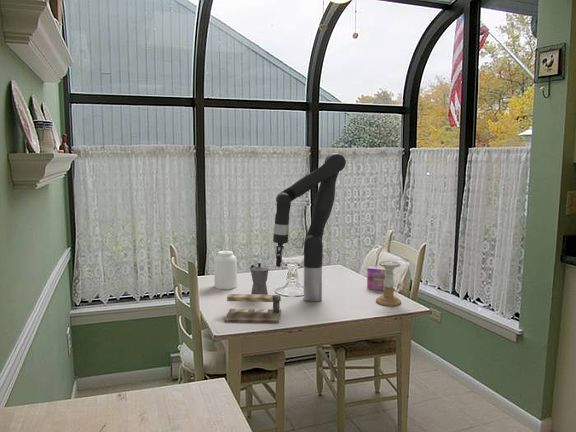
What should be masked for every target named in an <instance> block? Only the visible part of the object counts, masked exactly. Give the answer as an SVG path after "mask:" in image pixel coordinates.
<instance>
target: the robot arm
mask: <svg viewBox="0 0 576 432" xmlns="http://www.w3.org/2000/svg"><path fill="white" fill-rule="evenodd" d="M346 164H347V163H346V158H345V156H344V155H342V154H341V153H336V152H333V153H329V154H328V155H326V157H325V160H324V163H323V164H322V165H320V166H319V167H318V168H316V169H315V170H314V171H312V172H310V173H309V174H307V175H305V176H303V177H302V178H299V180H297V181H296V182H294V183H293V184H292V185H290V186H289V187H287V188H286V189H284V190H282V191H281V192H279V193H278V194H277V196H276V198H275V202H276V209H275V210H276V213H275V216H274V224H273V225H274V226H273V236H272V243H275V244H277V245H276V246H275V259H276V263H275V267H277V268H280V267H281V266H282V262H283V254H284V250H285V245H284V244H288V243H289V235H290V234H289V233H290V231H289V230H290V225H289V223H290V212H291V211H290V210H291V205H292V202H293V201H295V200H296V199H297V198H300V197H302V196H303V195H305V194H306V193H308V192H309V191H310V190H311V189H313V188H314V187H316V186H317V185H318V184H319V187H318V190H317V192H316V196H315V200H314V204H313V207H312V208H313V209H312V214H311V221H310V225H309V227H308V231H307V234H306V236H305V238H304V242H303V300H304V301H306V302H313V303H315V302H322V299H323V297H322V296H323V292H322V291H323V280H322V279H323V254H324V251H323V249H324V248H323V247H324V245H323V238H324V237H323V235H324V232H325V231H324V230H325V228H326V224H327V222H328V221H329V218H330V215H331V212H332V211H333V207H334V203H335V199H336V198H335V196H336V185H337V180H338V177H339V173H340V172H341V171H343V170H344V169H345V167H346Z"/></svg>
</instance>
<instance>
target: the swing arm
mask: <svg viewBox="0 0 576 432" xmlns="http://www.w3.org/2000/svg"><path fill="white" fill-rule="evenodd" d="M279 301H280V302H281V301H282V300H281V295H279V294H268V295H263V294H250V293H248V294H247V293H228V294H227V297H226V302H244V303H248V302H250V303H251V302H252V303H253V302H254V303H261V302H262V303H273V302H279Z"/></svg>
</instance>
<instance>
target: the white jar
mask: <svg viewBox="0 0 576 432" xmlns="http://www.w3.org/2000/svg"><path fill="white" fill-rule="evenodd" d="M213 266H214V267H213V272H214V273H213V275H214V280H213V281H214V285H213V286H214V288H215V289H217V290H231V289H236V288H237V287H238V260H237V257H236V256H235V255H234V251H231V250H225V249H224V250H220V251H218V252H217V253H216V256H215V257H214V259H213Z"/></svg>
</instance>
